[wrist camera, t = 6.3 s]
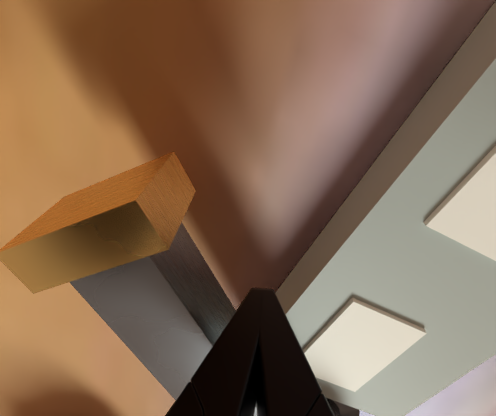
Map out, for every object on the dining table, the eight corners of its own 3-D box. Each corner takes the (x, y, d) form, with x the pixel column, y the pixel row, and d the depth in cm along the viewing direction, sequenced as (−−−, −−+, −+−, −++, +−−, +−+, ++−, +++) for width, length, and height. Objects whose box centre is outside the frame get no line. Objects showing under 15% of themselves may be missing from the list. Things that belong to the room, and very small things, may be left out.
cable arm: (362, 474, 16) (376, 547, 14) (279, 482, 17) (280, 551, 15) (187, 145, 8) (154, 192, 6) (53, 201, 9) (-19, 259, 7)
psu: (499, -5, 8) (560, -13, 6) (703, 135, 10) (799, 160, 8) (245, 332, 15) (242, 371, 14) (382, 385, 17) (395, 427, 15)
